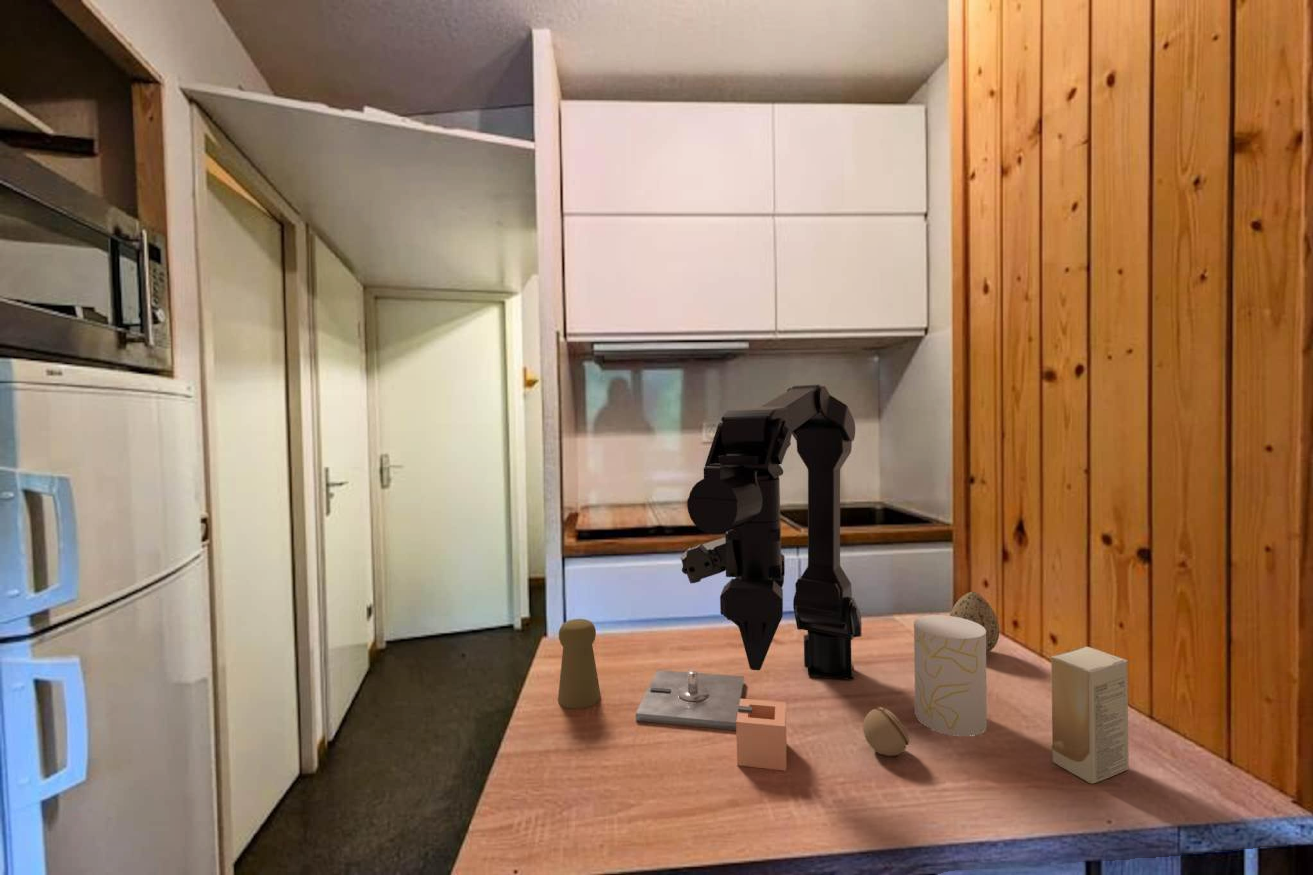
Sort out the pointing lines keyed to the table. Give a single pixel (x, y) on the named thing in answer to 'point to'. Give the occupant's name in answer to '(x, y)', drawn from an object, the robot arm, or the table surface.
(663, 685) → the grey square base plate
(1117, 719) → the skincare box
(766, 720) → the hollow block with latch
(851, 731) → the table surface
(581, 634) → the cork
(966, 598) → the decorative egg
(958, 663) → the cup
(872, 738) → the beige rounded piece
